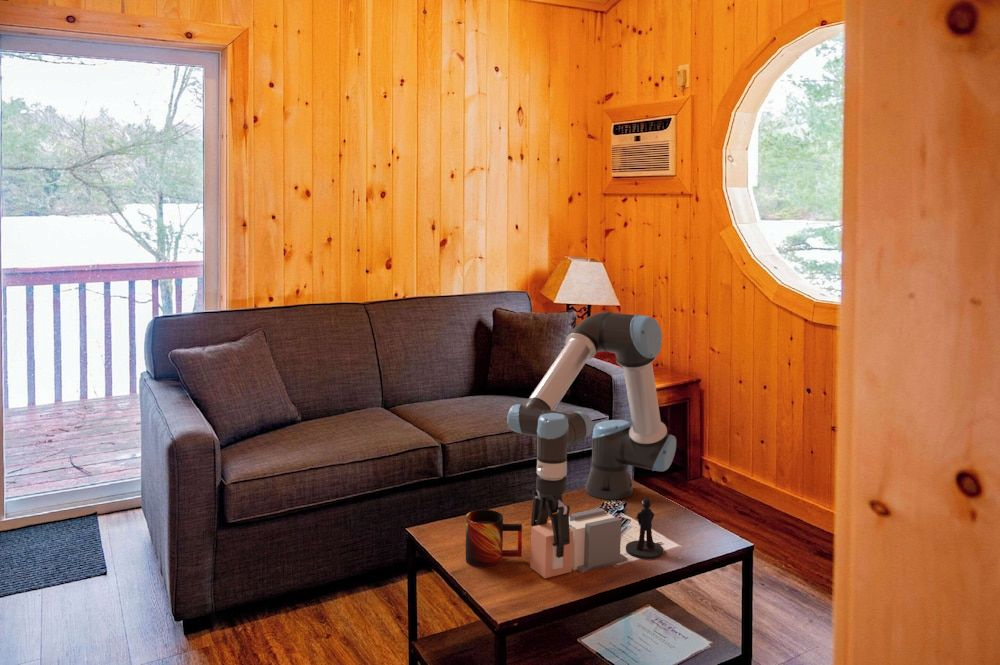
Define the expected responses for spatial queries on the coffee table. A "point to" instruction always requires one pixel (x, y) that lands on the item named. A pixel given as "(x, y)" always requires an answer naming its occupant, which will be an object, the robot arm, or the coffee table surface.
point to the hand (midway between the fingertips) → (549, 561)
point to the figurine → (646, 547)
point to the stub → (548, 551)
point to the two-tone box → (595, 540)
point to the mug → (488, 539)
